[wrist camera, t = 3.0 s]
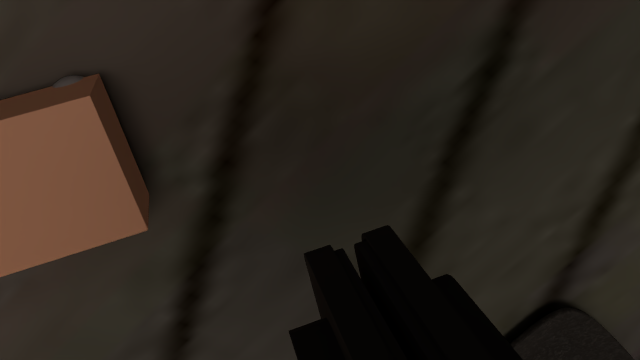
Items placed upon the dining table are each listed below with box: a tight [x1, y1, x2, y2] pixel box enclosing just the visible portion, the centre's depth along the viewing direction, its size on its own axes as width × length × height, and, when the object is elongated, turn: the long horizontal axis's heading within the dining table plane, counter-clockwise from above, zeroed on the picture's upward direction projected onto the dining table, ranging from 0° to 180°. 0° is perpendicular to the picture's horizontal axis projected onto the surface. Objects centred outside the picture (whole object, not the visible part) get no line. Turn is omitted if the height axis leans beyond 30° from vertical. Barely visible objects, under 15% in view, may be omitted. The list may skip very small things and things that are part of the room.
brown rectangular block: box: [0, 74, 149, 277], centre depth 21 cm, size 8×6×4 cm
